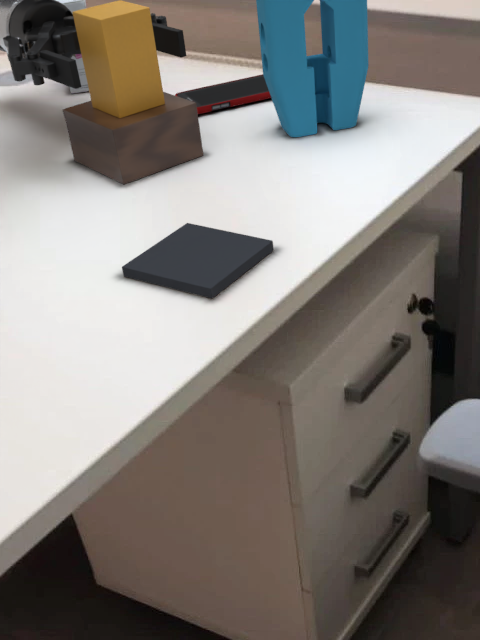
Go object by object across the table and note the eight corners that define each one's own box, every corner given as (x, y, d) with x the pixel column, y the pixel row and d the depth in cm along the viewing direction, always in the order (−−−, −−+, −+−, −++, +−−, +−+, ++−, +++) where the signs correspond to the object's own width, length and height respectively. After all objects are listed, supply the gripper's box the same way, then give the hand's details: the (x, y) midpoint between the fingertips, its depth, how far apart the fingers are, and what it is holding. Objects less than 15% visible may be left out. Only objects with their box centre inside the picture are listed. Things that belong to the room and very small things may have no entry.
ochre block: (119, 118, 97) (100, 19, 90) (92, 107, 100) (71, 11, 94) (165, 104, 99) (149, 7, 93) (137, 93, 103) (120, -1, 97)
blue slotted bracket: (357, 111, 111) (352, -72, 98) (372, 123, 107) (368, -65, 95) (266, 127, 109) (248, -57, 96) (277, 140, 105) (260, -50, 92)
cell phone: (296, 93, 118) (295, 85, 117) (193, 116, 113) (192, 108, 113) (272, 79, 123) (271, 72, 123) (173, 101, 119) (172, 93, 118)
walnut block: (123, 184, 98) (112, 130, 94) (74, 160, 104) (62, 109, 101) (203, 155, 103) (196, 102, 99) (151, 134, 110) (143, 84, 106)
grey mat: (212, 298, 76) (210, 288, 76) (123, 276, 81) (121, 266, 80) (273, 250, 83) (273, 240, 82) (188, 232, 87) (187, 222, 86)
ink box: (67, 77, 131) (48, -11, 124) (101, 73, 132) (84, -15, 125) (69, 94, 125) (48, 2, 117) (105, 89, 125) (86, -2, 118)
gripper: (-71, 19, 100) (16, 49, 87) (117, -25, 112) (218, -4, 99) (-50, 87, 104) (36, 126, 91) (128, 39, 116) (226, 66, 103)
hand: (130, 58), depth 95 cm, fingers open, 13 cm apart
